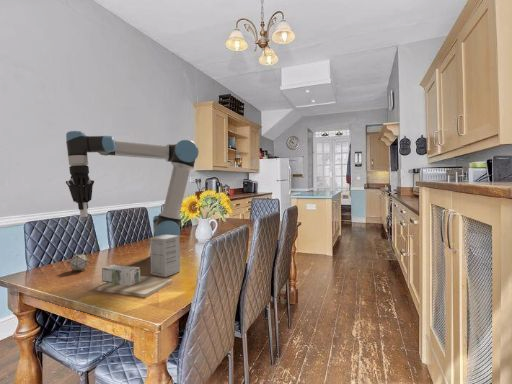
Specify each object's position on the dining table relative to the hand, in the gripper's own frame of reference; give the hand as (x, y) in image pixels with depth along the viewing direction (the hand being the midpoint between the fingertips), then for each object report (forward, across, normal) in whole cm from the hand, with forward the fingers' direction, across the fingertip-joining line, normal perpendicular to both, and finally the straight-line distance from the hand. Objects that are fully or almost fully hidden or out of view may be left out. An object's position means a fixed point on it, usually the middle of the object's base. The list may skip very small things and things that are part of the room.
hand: (84, 216), depth 127 cm
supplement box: (+29, -8, +34) cm, 46 cm away
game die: (+25, +1, -6) cm, 26 cm away
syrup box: (+23, +9, +19) cm, 31 cm away
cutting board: (+28, +10, +34) cm, 45 cm away
